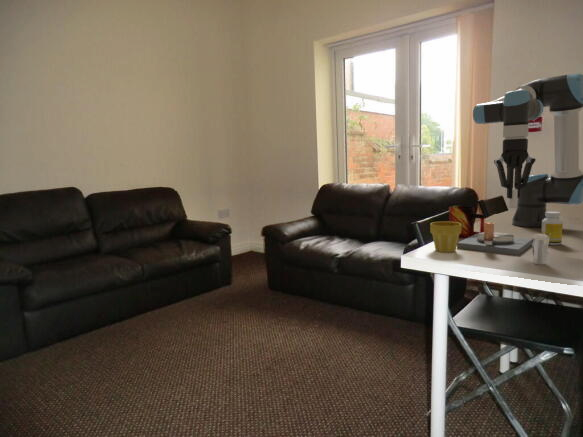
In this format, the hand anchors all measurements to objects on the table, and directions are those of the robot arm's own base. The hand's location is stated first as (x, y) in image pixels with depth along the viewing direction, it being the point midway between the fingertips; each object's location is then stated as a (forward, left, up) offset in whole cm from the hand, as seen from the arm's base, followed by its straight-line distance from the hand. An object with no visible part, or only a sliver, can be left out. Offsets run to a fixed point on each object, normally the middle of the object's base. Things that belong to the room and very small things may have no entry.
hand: (512, 207), depth 146 cm
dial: (+1, -6, -13) cm, 14 cm away
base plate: (-2, -6, -15) cm, 16 cm away
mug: (-16, -21, -15) cm, 30 cm away
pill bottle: (-18, +9, -15) cm, 25 cm away
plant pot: (+14, -18, -15) cm, 27 cm away
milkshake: (+16, +12, -15) cm, 25 cm away
